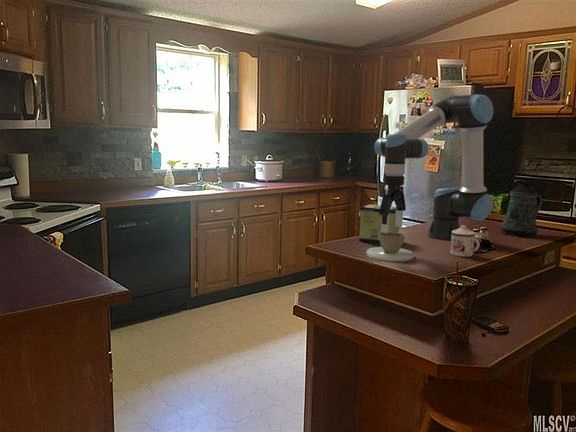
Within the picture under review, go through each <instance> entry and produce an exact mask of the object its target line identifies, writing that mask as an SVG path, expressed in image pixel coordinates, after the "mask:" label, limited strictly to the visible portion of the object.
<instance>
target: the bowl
mask: <svg viewBox="0 0 576 432" xmlns="http://www.w3.org/2000/svg"><path fill="white" fill-rule="evenodd" d="M405 237H406V234H404V233H401V232H399V233H397V232H389V233H384V232H380V233H379V240H380V243H381V244H380V247H382V248H383V250H384V252H386V253H397V252H398V251H399V249H400V248H401V249H402V245H403V244H404V241H405Z"/></svg>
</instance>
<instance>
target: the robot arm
mask: <svg viewBox="0 0 576 432" xmlns="http://www.w3.org/2000/svg"><path fill="white" fill-rule="evenodd" d="M493 116H494V106H493V103H492V100H491V99H490V98H489V97H488V95H484V94H476V93H475V94H466V95H465V94H463V95H451V96H449V97H446V98H444V99H442V100H440V101H439V102H436V103H435V104H433V105H431V106H430V107H428V109H427V111H426V112H425V113H423V114H422V115H420V116H419V117H417V118H416V119H414V120H413V121H411V122H410V123H408V124H407V125H405V126H404V127H402V128H400V129H399V130H397V131H396V132H394V133H389V134H387V135H386V137H381V138H378V139H377V140H376V141H375V143H374V147H373V148H374V152H375V154H376V155H377V156H379V157H384V160H385V161H384V165H383V167H384V174H385V175H384V179H383V180H384V181H383V184H384V185H385V186H387V188H384V189H383V194H382V199H381V203H380V205H381V207H380V211H379V215H382V222H381V232H384V233H389V216H388V214H389V211H390V208H391V206H392V204H393V202H394V204H395V207H396V208H397V210H396V219H395V227H399V228H403V219H404V211H406V209H407V208H406V201H405V193H404V187H405V186H404V185H405V174H406V159H412V160H413V159H415V160H416V159H417V160H419V159H423V158H425V157H426V156H427V155H428V153H429V147H430V146H429V144H428V141H426V140H425V139H422V137H423V136H425V135H426V134H428V133H429V132H430V131H432V130H434V129H435V128H440V127H442V126H444V125H447V124H457V125H458V126H457V128H458V130H460V131H461V142H462V143H461V148H462V151H461V154H462V155H461V156H462V160H461V161H462V166H461V168H462V186H461V187H446V188H445V187H444V188H437V189H436V190H435V191H434V197H433V199H434V200H433V210H432V211H433V214H432V215H433V216H432V221H431V223H430V226H429V227H428V228H429V229H428V232H427V236H428V237H431V238H433V239H439V240H449V241H451V237H452V234H451V232H452V231H453V230H457V229H459V228H461V225H460V218H463V219H469V220H472V221H483V220H485V219H486V218H488V217H489V215H490V214H491V212H492V210H493V206H494V199H493V197H492V195H490V194H489V193H488V189H487V187H486V186H485V185H484V130H485V129H486V128H487V127H488V123H489V122H490V121H492V119H493ZM420 138H421V139H420Z"/></svg>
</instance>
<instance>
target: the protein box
mask: <svg viewBox="0 0 576 432" xmlns="http://www.w3.org/2000/svg"><path fill="white" fill-rule="evenodd" d="M380 207H381V204H368V203H367V204H364V205H363V206H362V205H361V206H360V214H359V215H360V216H359V217H360V218H359V236H358V241H359V242H363V243H371V244H380V245H381V243H380V240H379V233H380V232H381V222H382V215H379V211H380ZM396 210H397V208H396V205H395V206H394V205H393V206H392V205H391V208H390V211H389V214H388V216H389V232H397V233H400V227H395V219H396Z"/></svg>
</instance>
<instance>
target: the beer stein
mask: <svg viewBox="0 0 576 432" xmlns="http://www.w3.org/2000/svg"><path fill="white" fill-rule="evenodd" d="M509 196H510V200H509V203H508V207H507V210H506V213H505V216H504V219H503V221H502V223H501V225H500V230H501V234H502V233H503V234H502V235H505V234H506V235H505V236H508V235H511V236H510V237H514V236H518V237H517V238H529V237H530V238H535V237H537V234H538V231H539V229H538V227H537V217H536V216H537V215H538V213H539V212H540V210H541V208H542V205H543V198H542V195H541V193H539V188H537V187H535V186H532V185H531V183H522V182H521V183H519V184H518V186H516V187H514V188H513V189H511V190H510V191H509Z"/></svg>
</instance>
